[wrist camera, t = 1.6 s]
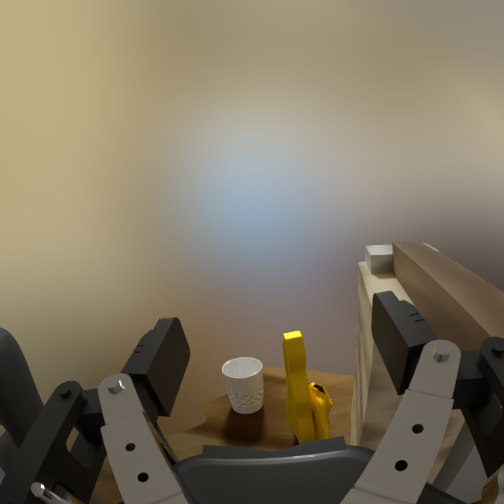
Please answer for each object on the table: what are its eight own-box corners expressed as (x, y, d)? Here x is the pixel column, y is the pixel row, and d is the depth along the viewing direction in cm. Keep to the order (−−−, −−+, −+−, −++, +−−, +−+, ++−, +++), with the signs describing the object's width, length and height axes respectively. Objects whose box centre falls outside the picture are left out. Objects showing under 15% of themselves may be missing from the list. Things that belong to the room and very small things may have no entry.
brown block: (420, 423, 8) (439, 352, 7) (365, 261, 34) (364, 236, 33) (559, 383, 5) (580, 319, 5) (424, 258, 32) (424, 233, 31)
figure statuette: (343, 465, 34) (356, 356, 30) (294, 475, 34) (291, 368, 30) (318, 404, 51) (318, 307, 48) (280, 410, 51) (273, 313, 48)
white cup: (272, 408, 52) (268, 370, 50) (236, 420, 49) (229, 382, 48) (257, 390, 59) (253, 353, 58) (224, 399, 56) (217, 362, 55)
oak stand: (337, 524, 22) (375, 320, 17) (347, 440, 39) (358, 262, 34) (408, 518, 19) (497, 308, 14) (401, 437, 36) (430, 258, 31)
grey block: (428, 514, 19) (493, 405, 15) (417, 435, 35) (443, 327, 32) (481, 499, 16) (552, 384, 12) (459, 427, 33) (492, 320, 29)
